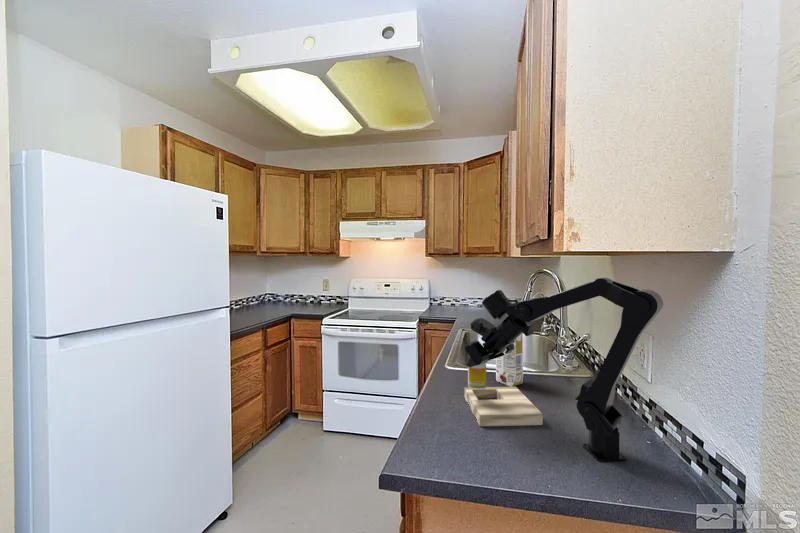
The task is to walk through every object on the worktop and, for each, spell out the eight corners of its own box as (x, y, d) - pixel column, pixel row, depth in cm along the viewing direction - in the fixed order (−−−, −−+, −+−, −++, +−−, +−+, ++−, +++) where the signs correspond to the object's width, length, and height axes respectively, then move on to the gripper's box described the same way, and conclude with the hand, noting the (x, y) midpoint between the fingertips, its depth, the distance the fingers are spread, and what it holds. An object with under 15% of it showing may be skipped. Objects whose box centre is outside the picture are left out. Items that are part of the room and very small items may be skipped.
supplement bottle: (488, 390, 101) (488, 357, 101) (470, 390, 101) (470, 357, 101) (483, 383, 106) (483, 352, 106) (466, 384, 106) (465, 352, 106)
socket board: (542, 424, 93) (542, 413, 93) (480, 426, 93) (480, 415, 93) (515, 395, 113) (515, 386, 113) (464, 396, 113) (464, 387, 113)
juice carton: (512, 388, 120) (512, 333, 119) (492, 381, 127) (492, 329, 127) (525, 383, 124) (525, 331, 124) (506, 377, 131) (506, 327, 131)
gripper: (504, 306, 107) (474, 337, 115) (469, 313, 94) (438, 347, 102) (529, 335, 101) (495, 365, 109) (496, 347, 88) (461, 380, 96)
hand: (473, 363), depth 104 cm, fingers closed on supplement bottle, 5 cm apart
